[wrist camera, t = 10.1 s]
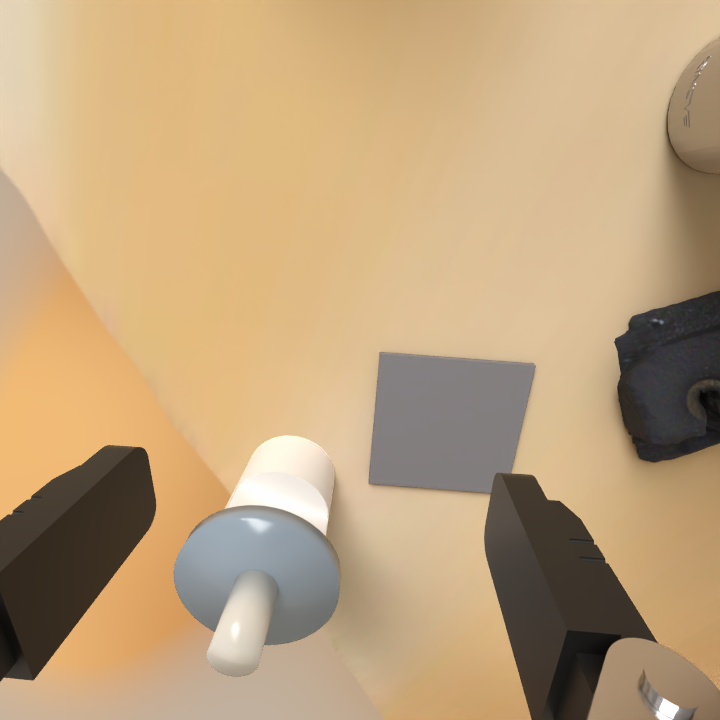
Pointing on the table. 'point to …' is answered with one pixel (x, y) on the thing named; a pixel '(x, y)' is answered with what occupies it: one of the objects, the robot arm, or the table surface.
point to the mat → (447, 421)
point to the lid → (256, 582)
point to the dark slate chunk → (672, 378)
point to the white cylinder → (289, 479)
